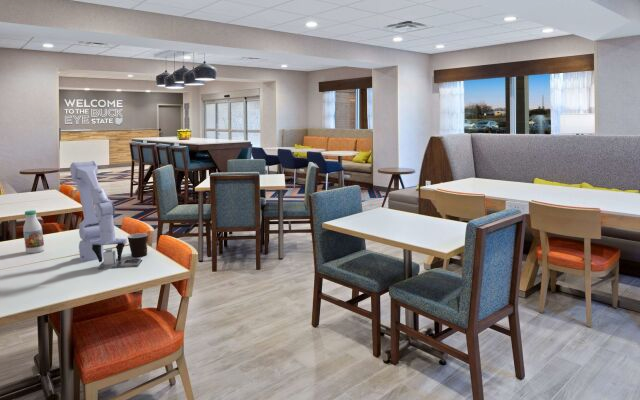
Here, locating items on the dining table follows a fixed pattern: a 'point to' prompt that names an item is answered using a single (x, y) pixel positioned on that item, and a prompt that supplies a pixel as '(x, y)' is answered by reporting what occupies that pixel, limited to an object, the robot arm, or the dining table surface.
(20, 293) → the dining table surface
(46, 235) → the dining table surface
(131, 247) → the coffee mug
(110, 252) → the plug
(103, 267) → the panel
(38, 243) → the milk bottle
